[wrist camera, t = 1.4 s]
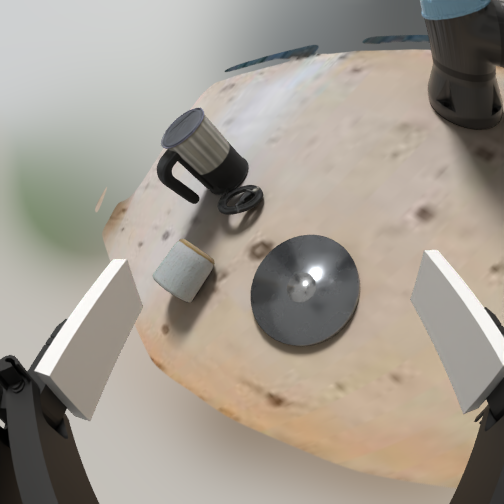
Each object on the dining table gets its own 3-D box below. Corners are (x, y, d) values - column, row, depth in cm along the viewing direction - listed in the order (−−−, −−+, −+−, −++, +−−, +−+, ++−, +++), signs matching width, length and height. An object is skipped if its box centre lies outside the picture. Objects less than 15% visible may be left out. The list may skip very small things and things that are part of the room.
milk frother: (222, 157, 58) (178, 111, 46) (285, 157, 48) (243, 97, 37) (192, 214, 55) (137, 173, 43) (254, 226, 46) (197, 173, 34)
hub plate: (271, 235, 43) (267, 231, 42) (368, 242, 35) (367, 238, 34) (242, 331, 39) (237, 329, 38) (344, 357, 31) (342, 357, 30)
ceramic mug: (225, 265, 45) (194, 245, 39) (199, 308, 45) (165, 294, 39) (190, 242, 52) (161, 224, 46) (167, 279, 51) (136, 264, 45)
